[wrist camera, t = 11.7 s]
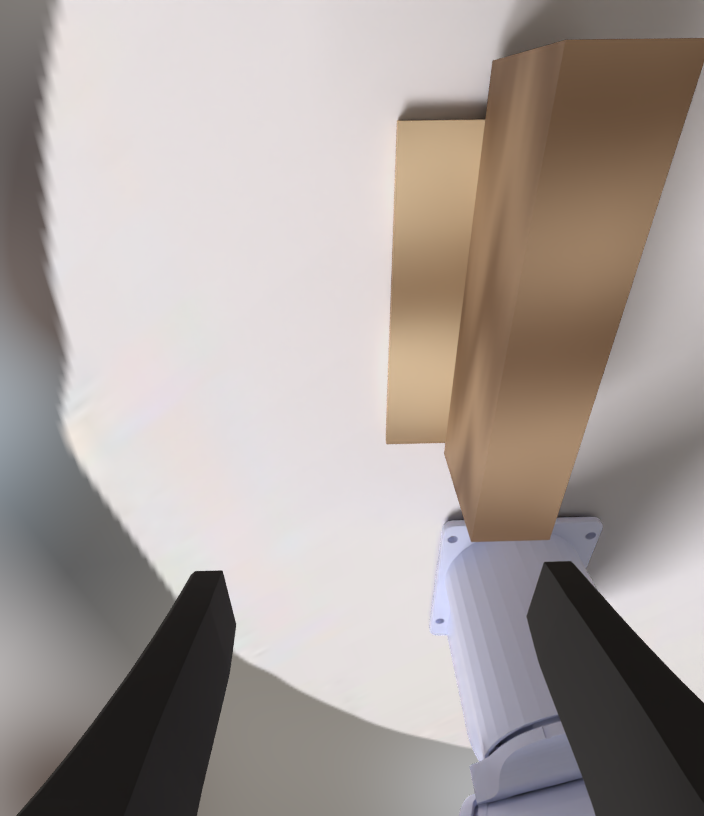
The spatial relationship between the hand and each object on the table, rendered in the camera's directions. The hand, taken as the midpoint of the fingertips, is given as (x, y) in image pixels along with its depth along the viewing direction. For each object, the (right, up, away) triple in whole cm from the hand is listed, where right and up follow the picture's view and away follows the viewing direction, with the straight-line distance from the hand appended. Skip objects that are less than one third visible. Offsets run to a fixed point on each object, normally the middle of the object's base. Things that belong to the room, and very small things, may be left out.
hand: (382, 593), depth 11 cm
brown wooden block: (+5, +8, +6) cm, 11 cm away
